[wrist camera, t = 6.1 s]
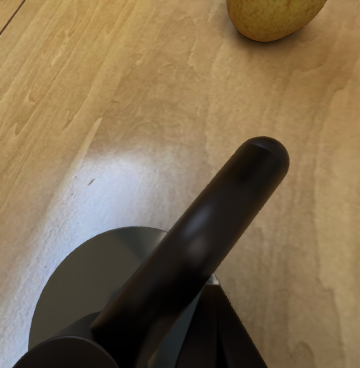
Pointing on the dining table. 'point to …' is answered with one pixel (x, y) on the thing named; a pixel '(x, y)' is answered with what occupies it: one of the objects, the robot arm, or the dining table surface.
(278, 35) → the fruit
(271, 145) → the spout
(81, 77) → the dining table surface
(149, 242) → the faucet base
